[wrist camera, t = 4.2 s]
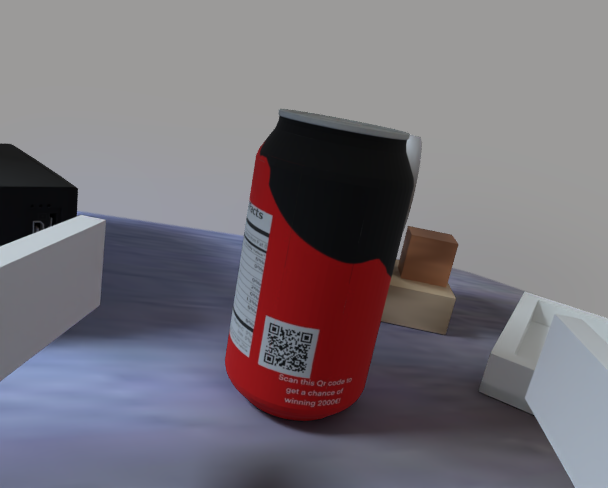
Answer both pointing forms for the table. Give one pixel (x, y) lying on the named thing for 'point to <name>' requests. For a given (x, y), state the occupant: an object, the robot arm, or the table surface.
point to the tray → (527, 347)
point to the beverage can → (316, 262)
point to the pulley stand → (421, 271)
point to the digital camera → (31, 196)
